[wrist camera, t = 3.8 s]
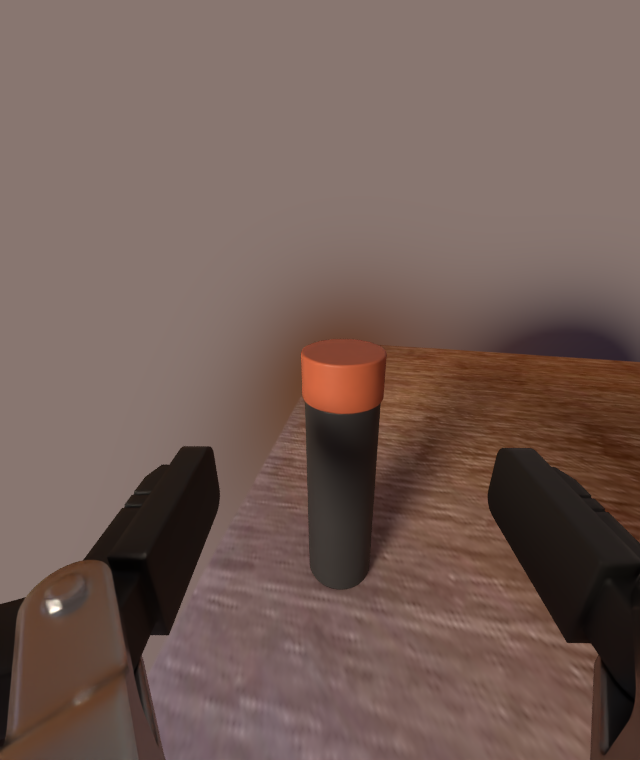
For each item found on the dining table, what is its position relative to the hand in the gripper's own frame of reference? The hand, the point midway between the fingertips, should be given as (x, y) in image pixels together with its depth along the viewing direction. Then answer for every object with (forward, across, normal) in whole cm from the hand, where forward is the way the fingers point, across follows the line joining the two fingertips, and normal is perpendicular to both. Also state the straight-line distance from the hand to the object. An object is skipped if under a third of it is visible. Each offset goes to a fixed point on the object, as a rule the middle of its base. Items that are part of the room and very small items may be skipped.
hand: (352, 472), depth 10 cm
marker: (+5, 0, +10) cm, 11 cm away
